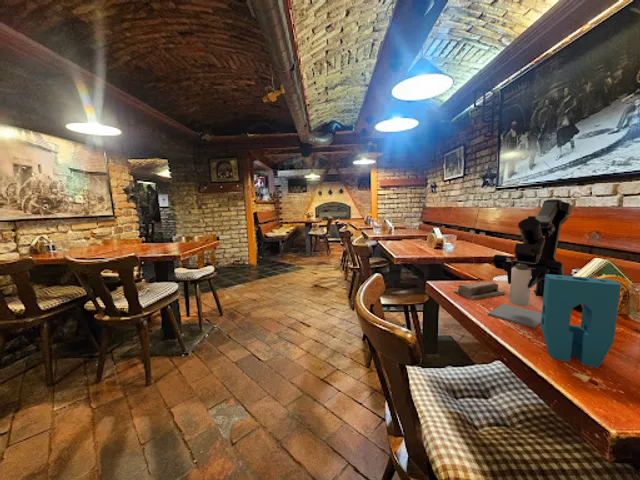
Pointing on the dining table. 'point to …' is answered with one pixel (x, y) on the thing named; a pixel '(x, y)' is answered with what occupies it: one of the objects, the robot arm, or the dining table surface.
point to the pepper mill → (520, 285)
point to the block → (595, 323)
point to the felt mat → (517, 315)
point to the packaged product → (479, 290)
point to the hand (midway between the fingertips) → (518, 285)
